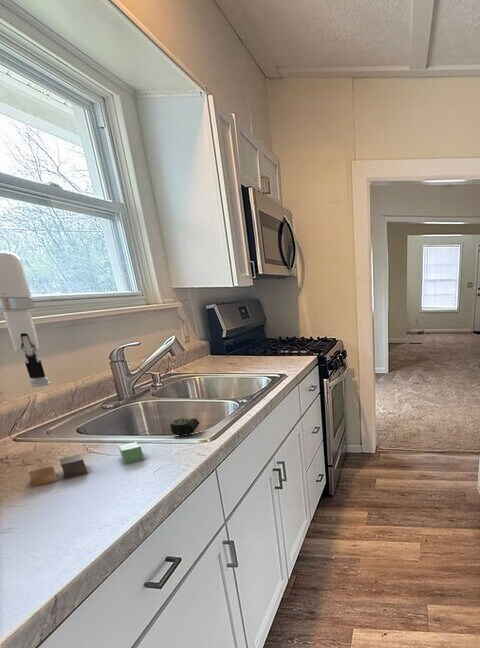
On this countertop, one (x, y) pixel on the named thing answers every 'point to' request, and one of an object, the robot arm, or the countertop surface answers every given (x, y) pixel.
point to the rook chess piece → (39, 381)
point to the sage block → (131, 452)
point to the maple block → (42, 473)
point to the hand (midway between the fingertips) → (37, 375)
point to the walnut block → (73, 466)
